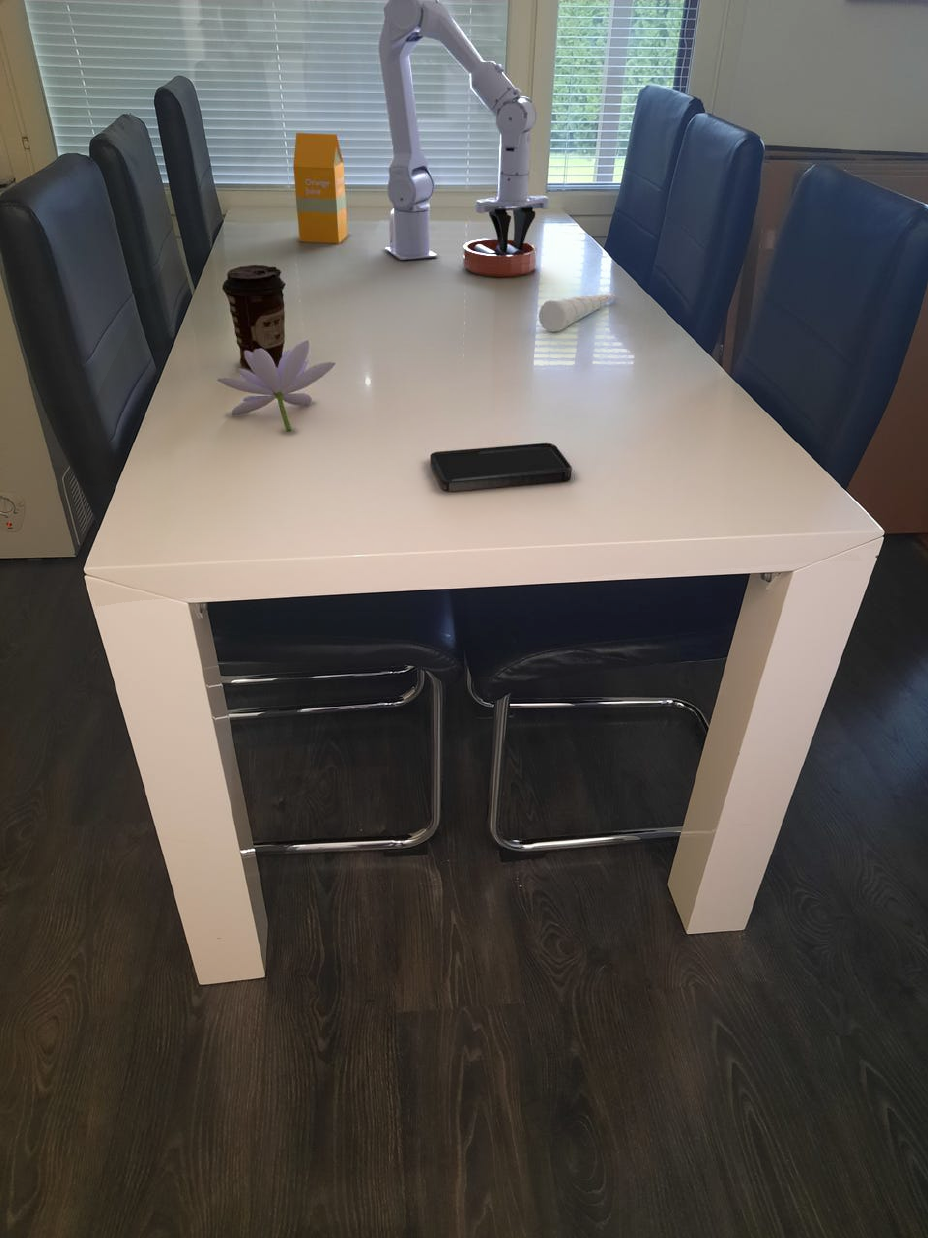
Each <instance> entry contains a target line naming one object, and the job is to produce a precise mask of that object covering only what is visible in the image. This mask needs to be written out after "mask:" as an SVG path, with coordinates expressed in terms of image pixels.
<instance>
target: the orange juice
mask: <svg viewBox="0 0 928 1238" xmlns="http://www.w3.org/2000/svg"><path fill="white" fill-rule="evenodd" d="M294 144H295V145H294V152H293V165H292V167H293V180H294V190H295V191H294V192H295V206H296V213H297V214H296V215H297V224H298V226H297V227H298V238H299V242H309V243H326V244H340V243H341V242H342V241H344V240H345V238H347V237H348V219H347V197H346V196H347V195H346V183H345V182H346V181H345V164H344V160H343V157H342V151H341V147H340V143H339V138H338V135H337V134H330V133H307V132H296V133H295V141H294Z"/></svg>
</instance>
